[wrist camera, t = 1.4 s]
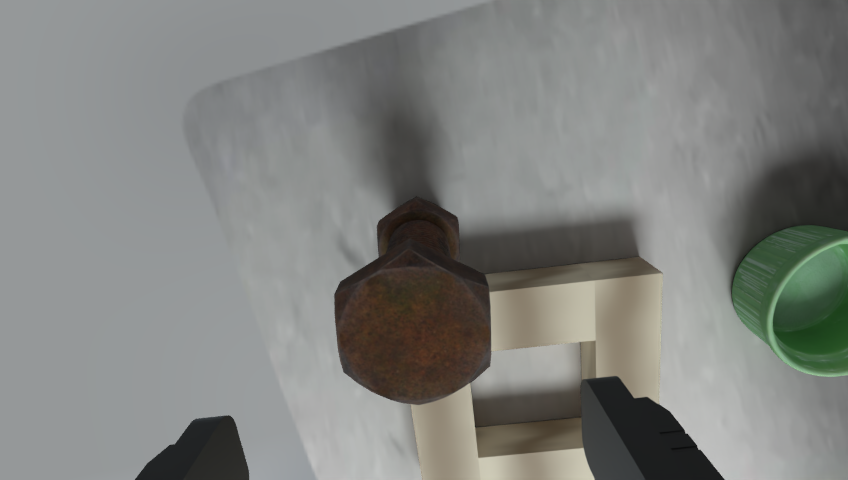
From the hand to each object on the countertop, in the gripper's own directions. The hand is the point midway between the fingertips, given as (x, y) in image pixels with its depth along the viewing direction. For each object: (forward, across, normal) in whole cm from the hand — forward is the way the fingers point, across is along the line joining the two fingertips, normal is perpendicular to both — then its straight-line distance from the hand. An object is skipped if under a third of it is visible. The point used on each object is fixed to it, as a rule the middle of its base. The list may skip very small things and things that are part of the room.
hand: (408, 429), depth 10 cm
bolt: (+20, 0, 0) cm, 20 cm away
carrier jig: (+19, -6, +12) cm, 24 cm away
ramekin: (+20, -24, +7) cm, 32 cm away
